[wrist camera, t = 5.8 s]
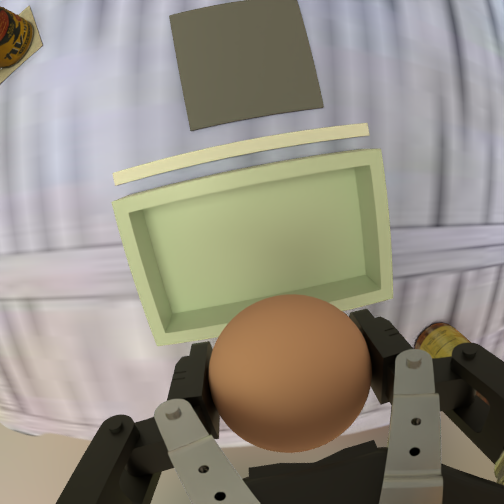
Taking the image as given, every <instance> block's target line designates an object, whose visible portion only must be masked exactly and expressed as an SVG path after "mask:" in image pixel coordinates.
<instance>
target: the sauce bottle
mask: <svg viewBox="0 0 504 504" xmlns="http://www.w3.org/2000/svg"><path fill="white" fill-rule="evenodd" d="M467 342H469V343H471V342H470V341H469V340H468V339H467V338H465V337H464V336H463V335H462V334H461V333H460V332H458V331H457V330H456V329H455V328H454V327H451V326H450V325H448V324H445V323H436V324H433V325H431V326H430V327H428V328H427V329H426V330H424V331H423V332H422V334H421V335H420V336H419V337H418V340H417V342H416V345H415V349H420V350H423V351H426V352H427V353H429V354H430V355H431V357H432V358H443V357H450V356H451V355H452V351H453V349H454V347H455V346H457V345H459V344H461V343H467ZM476 395H477V396H479V397H480V398H481V399H482V400H483V401H484V402H486V403H487V404H488V405H489V402H488V401H487V399H486V398H485V397H483V396H482V395H481V394H480V393H479V392H477V391H476ZM489 406H490V405H489Z"/></svg>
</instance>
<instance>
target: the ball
mask: <svg viewBox="0 0 504 504" xmlns="http://www.w3.org/2000/svg"><path fill="white" fill-rule="evenodd" d="M371 378H372V367H371V358H370V354H369V350H368V346H367V344H366V341H365V339H364V337H363V335H362V333H361V332H360V330H359V329H358V327H357V326H356V325H355V323H354V322H353V321H352V320H351V319H350V318H349V317H348V316H347V315H346V314H345V313H344V312H342V311H341V310H339V309H338V308H337V307H335V306H334V305H332V304H330V303H328V302H326V301H323V300H320V299H318V298H315V297H311V296H306V295H297V294H287V295H279V296H273V297H270V298H266V299H263V300H261V301H258V302H256V303H254V304H252V305H250V306H248V307H247V308H245V309H244V310H242V311H241V312H239V313H238V314H237V315H236V316H235V317H234V318H233V319H232V320H231V321H230V322H229V323H228V324H227V325H226V327H225V328H224V329H223V331H222V332H221V334H220V335H219V337H218V339H217V341H216V343H215V346H214V348H213V351H212V354H211V358H210V363H209V387H210V392H211V396H212V400H213V402H214V404H215V407H216V409H217V411H218V413H219V415H220V416H221V418H222V419H223V420H224V422H225V423H226V424H227V426H228V427H229V428H230V429H231V430H232V431H233V432H235V433H236V434H237V435H238V436H240V437H241V438H242V439H244V440H245V441H247V442H249V443H251V444H253V445H255V446H257V447H260V448H263V449H266V450H270V451H276V452H286V453H293V452H302V451H307V450H311V449H314V448H317V447H320V446H322V445H324V444H327V443H328V442H330V441H332V440H334V439H335V438H337V437H338V436H339V435H341V434H342V433H343V432H344V431H345V430H347V429H348V428H349V427H350V426H351V424H352V423H353V422H354V421H355V419H356V418H357V417H358V415H359V414H360V412H361V410H362V409H363V407H364V404H365V402H366V400H367V397H368V394H369V390H370V386H371Z"/></svg>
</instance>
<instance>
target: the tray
mask: <svg viewBox="0 0 504 504" xmlns="http://www.w3.org/2000/svg"><path fill="white" fill-rule="evenodd" d="M112 206H113V210H114V214H115V217H116V221H117V225H118V229H119V232H120V236H121V239H122V243H123V246H124V250H125V253H126V257H127V260H128V263H129V266H130V270H131V273H132V276H133V279H134V282H135V285H136V288H137V291H138V294H139V297H140V300H141V303H142V306H143V309H144V312H145V315H146V317H147V320H148V323H149V326H150V328H151V331H152V334H153V336H154V339H155V342H156V344H157V346H163V345H170V344H177V343H183V342H190V341H196V340H203V339H209V338H215V337H219V335H220V334H221V332H222V331H223V329H224V328H225V327H226V325H227V324H228V323H229V322H230V321H231V320H232V319H233V318H234V317H235V316H236V315H237V314H238V313H239V312H241V311H242V310H244V309H245V308H247V307H248V306H250V305H252V304H254V303H256V302H258V301H261V300H263V299H266V298H270V297H273V296H279V295H287V294H297V295H306V296H311V297H315V298H318V299H320V300H323V301H326V302H328V303H330V304H332V305H334V306H335V307H337V308H338V309H339V310H341V311H345V310H350V309H354V308H358V307H362V306H365V305H369V304H373V303H377V302H381V301H384V300H388V299H392V298H393V274H392V251H391V235H390V222H389V211H388V201H387V191H386V183H385V175H384V167H383V160H382V153H381V149H357V150H349V151H342V152H335V153H328V154H321V155H315V156H308V157H302V158H296V159H290V160H284V161H278V162H273V163H267V164H262V165H257V166H251V167H246V168H241V169H236V170H231V171H227V172H222V173H217V174H213V175H208V176H204V177H199V178H195V179H190V180H186V181H182V182H178V183H174V184H169V185H165V186H161V187H157V188H153V189H150V190H146V191H142V192H138V193H134V194H131V195H128V196H125V197H123V198H120V199H118V200H115V201H113V202H112Z"/></svg>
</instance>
